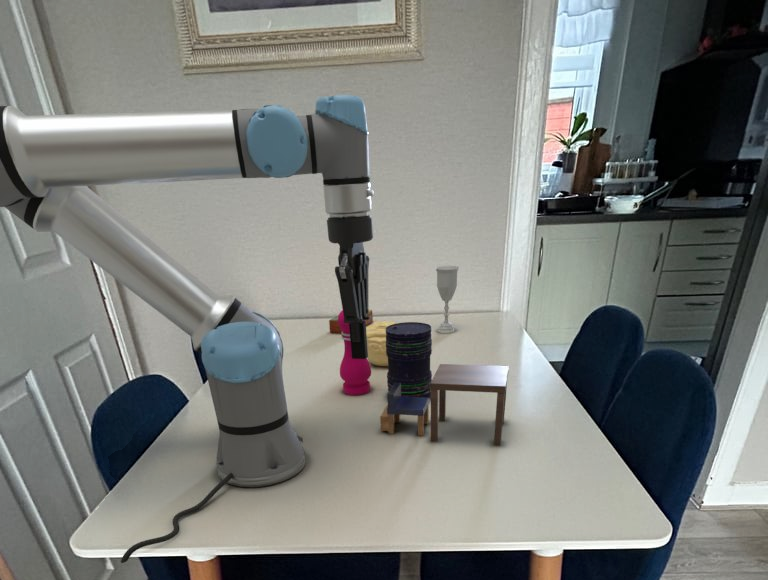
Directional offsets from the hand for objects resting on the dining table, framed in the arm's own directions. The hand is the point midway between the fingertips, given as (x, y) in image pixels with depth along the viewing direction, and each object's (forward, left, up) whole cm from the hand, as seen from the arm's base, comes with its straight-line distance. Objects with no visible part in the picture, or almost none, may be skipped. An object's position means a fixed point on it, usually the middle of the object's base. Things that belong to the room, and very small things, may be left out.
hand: (360, 357), depth 101 cm
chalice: (+73, -6, -14) cm, 74 cm away
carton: (+75, +25, -14) cm, 80 cm away
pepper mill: (+19, +7, -14) cm, 25 cm away
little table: (0, -21, -14) cm, 25 cm away
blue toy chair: (0, -9, -14) cm, 16 cm away
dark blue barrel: (+17, -6, -14) cm, 23 cm away
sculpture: (+40, +5, -14) cm, 43 cm away
